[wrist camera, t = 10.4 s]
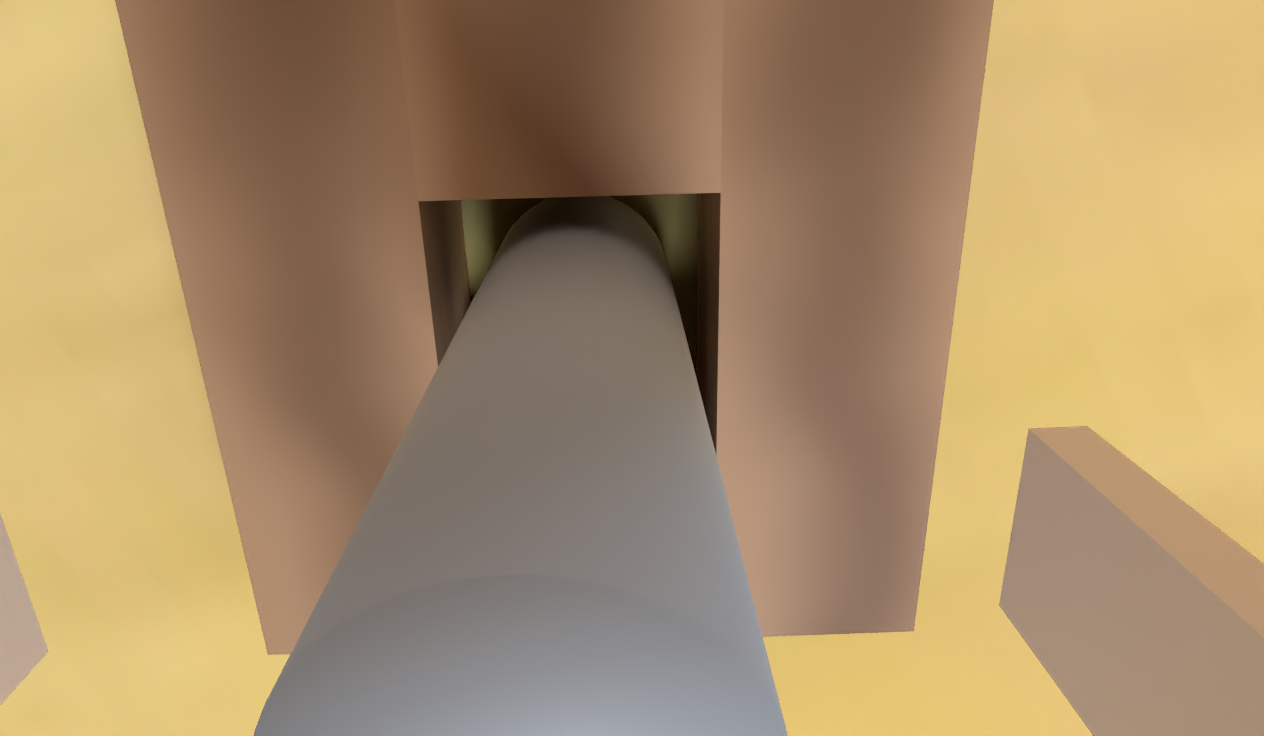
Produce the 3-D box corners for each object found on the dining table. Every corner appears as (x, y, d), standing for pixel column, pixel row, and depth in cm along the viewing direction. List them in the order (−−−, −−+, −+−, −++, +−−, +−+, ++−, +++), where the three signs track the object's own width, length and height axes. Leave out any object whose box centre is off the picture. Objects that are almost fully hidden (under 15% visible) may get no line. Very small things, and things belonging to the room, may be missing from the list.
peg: (503, 361, 23) (300, 985, 8) (488, 194, 21) (195, 585, 6) (668, 356, 23) (781, 965, 8) (667, 189, 21) (809, 564, 6)
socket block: (325, 549, 25) (267, 654, 20) (211, -53, 19) (97, -78, 15) (862, 531, 25) (913, 631, 21) (918, -69, 19) (1006, -99, 15)
